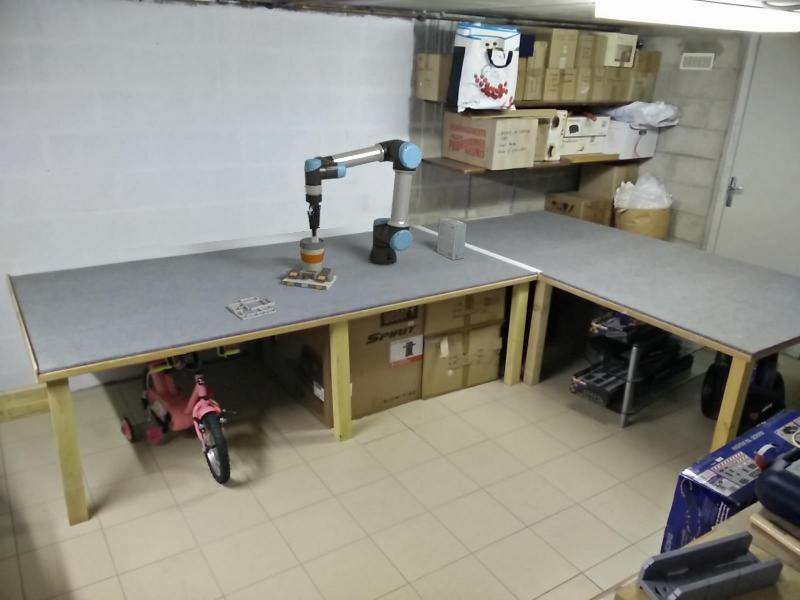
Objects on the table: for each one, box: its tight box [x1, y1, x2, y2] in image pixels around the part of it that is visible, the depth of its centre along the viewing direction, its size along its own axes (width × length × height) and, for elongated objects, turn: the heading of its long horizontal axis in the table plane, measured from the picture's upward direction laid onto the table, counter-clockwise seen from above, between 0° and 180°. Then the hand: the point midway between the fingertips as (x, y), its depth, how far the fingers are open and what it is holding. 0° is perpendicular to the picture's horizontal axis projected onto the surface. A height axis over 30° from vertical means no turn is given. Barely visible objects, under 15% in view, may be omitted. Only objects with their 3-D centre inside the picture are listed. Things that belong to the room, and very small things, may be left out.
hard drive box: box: [436, 217, 468, 261], centre depth 347 cm, size 16×8×20 cm, turn 34°
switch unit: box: [282, 267, 337, 291], centre depth 300 cm, size 22×16×5 cm
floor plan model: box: [226, 296, 277, 321], centre depth 271 cm, size 19×25×2 cm
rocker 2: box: [317, 267, 332, 282], centre depth 298 cm, size 5×10×1 cm, turn 169°
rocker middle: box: [302, 270, 317, 276], centre depth 299 cm, size 5×10×1 cm, turn 168°
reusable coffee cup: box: [299, 236, 326, 272], centre depth 315 cm, size 12×13×15 cm
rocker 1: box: [288, 264, 304, 279], centre depth 300 cm, size 5×10×1 cm, turn 169°
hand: (315, 242), depth 297 cm, fingers closed
